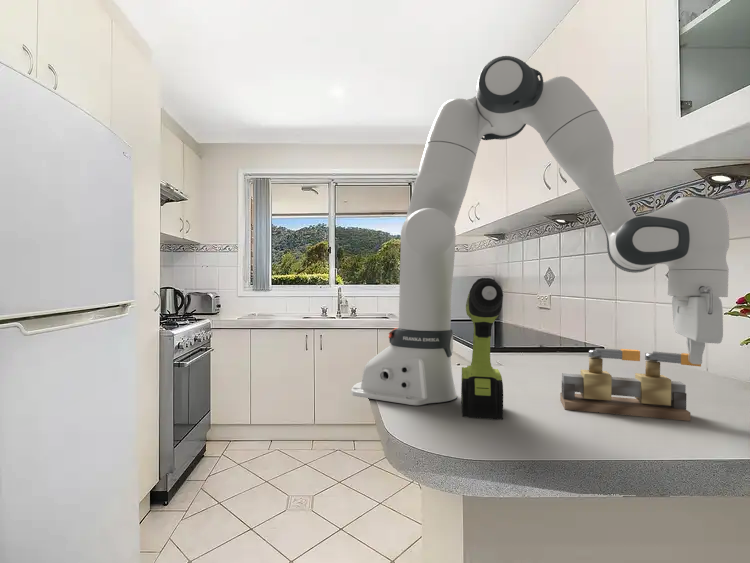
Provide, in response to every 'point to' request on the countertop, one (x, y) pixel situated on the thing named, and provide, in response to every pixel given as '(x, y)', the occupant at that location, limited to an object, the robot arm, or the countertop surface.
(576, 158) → the robot arm
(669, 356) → the right valve lever
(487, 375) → the cordless drill
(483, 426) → the countertop surface
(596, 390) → the valve manifold
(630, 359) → the left valve lever
